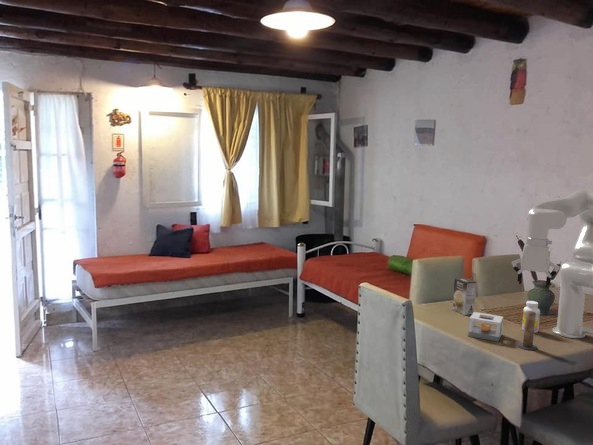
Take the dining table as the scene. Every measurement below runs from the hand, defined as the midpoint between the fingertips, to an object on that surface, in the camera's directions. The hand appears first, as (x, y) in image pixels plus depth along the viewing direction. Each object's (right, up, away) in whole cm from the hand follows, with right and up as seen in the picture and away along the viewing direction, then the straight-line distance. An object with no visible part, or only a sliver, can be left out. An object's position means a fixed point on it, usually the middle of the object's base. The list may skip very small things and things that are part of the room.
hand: (533, 285), depth 205 cm
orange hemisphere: (-13, -21, +15) cm, 29 cm away
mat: (-1, -25, +3) cm, 26 cm away
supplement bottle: (+9, -23, +24) cm, 34 cm away
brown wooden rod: (-1, -25, +3) cm, 25 cm away
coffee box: (-12, -19, +49) cm, 54 cm away
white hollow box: (-13, -23, +16) cm, 31 cm away
